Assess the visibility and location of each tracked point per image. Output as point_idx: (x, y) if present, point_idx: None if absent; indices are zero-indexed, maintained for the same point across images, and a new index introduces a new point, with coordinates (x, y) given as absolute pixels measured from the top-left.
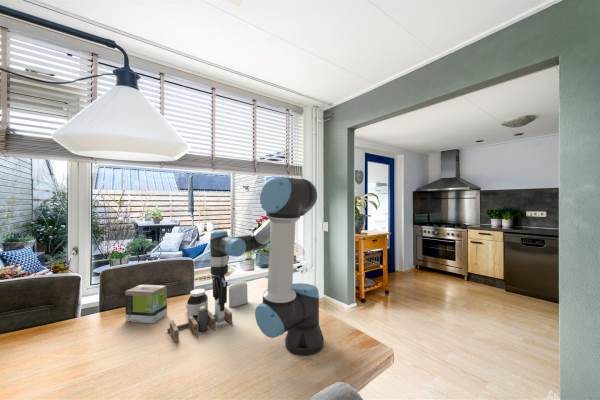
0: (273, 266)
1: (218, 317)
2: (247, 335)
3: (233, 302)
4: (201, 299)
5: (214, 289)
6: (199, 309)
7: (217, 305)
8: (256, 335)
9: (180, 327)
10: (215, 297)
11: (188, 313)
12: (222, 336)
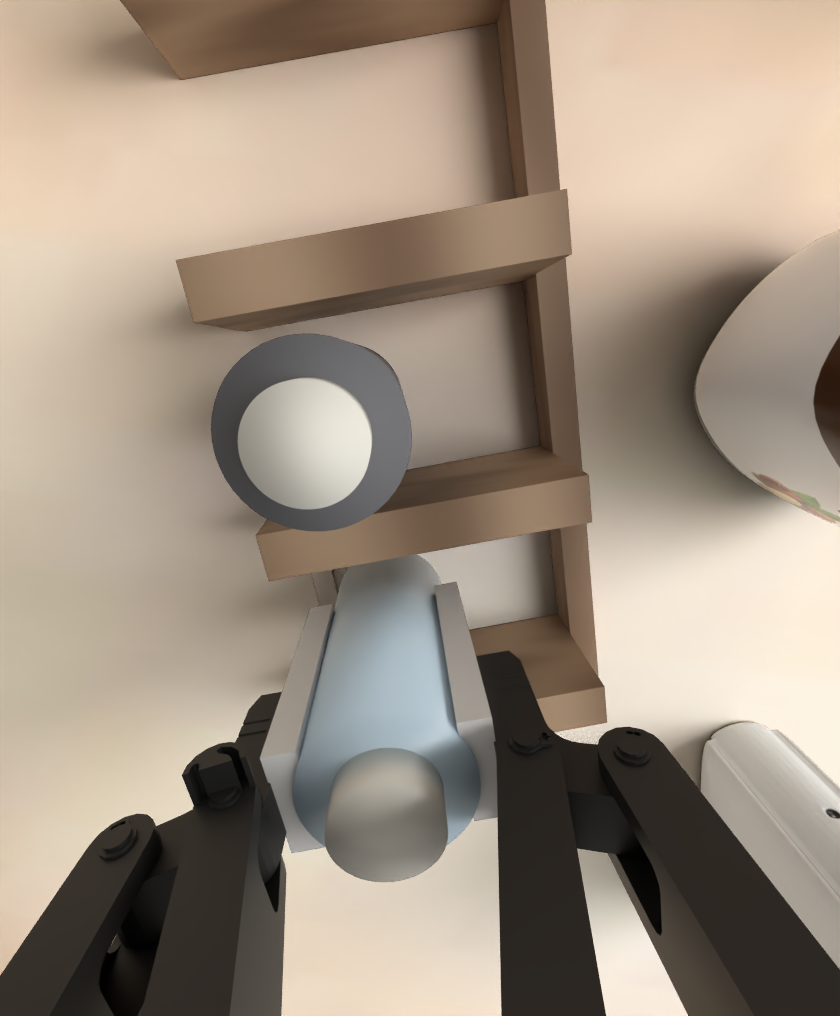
0: None
1: (318, 612)
2: (60, 759)
3: (732, 800)
4: None
5: (711, 971)
6: (358, 371)
7: (314, 714)
8: (34, 818)
9: (513, 114)
10: (497, 785)
11: (808, 245)
12: (124, 565)
